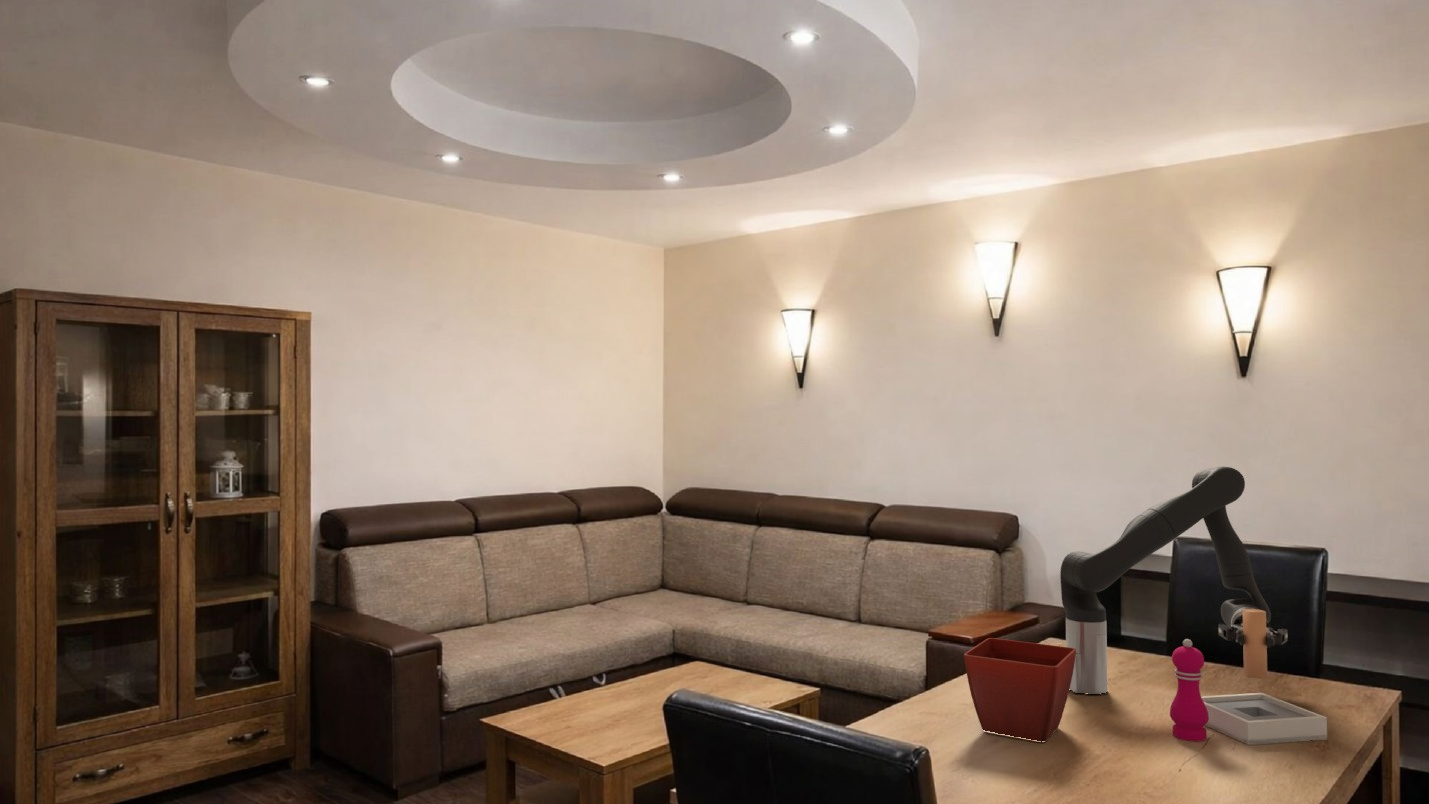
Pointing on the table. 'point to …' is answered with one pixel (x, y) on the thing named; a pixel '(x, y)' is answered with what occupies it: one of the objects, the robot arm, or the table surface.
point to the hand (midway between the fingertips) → (1255, 641)
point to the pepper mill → (1188, 694)
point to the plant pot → (1019, 686)
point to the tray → (1265, 726)
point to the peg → (1255, 643)
